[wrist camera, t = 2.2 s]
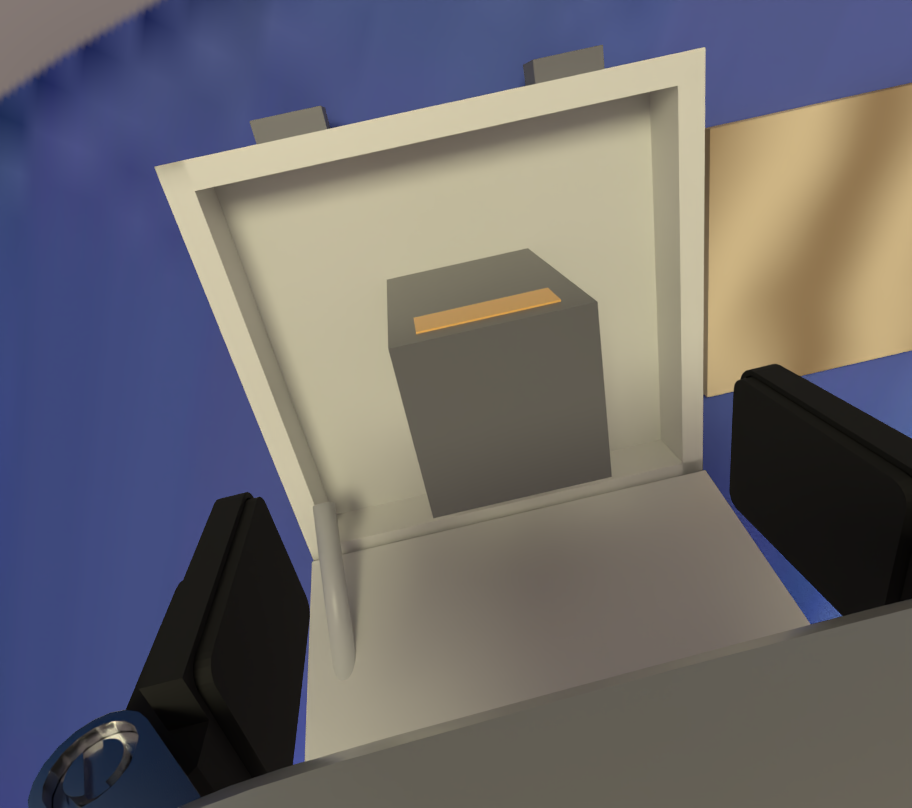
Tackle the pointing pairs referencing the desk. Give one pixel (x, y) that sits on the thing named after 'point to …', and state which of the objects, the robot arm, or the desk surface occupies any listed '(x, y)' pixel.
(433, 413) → the block
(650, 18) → the desk surface
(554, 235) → the case
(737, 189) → the mat
